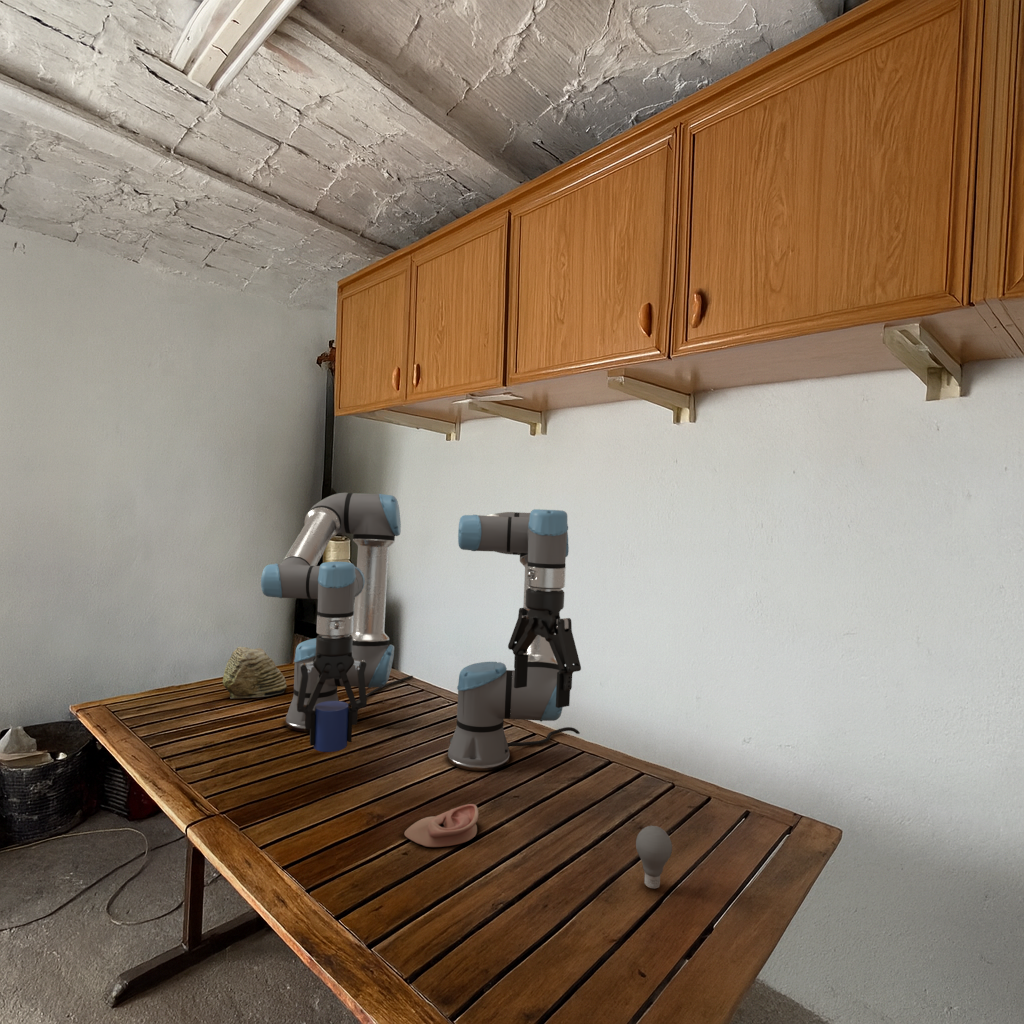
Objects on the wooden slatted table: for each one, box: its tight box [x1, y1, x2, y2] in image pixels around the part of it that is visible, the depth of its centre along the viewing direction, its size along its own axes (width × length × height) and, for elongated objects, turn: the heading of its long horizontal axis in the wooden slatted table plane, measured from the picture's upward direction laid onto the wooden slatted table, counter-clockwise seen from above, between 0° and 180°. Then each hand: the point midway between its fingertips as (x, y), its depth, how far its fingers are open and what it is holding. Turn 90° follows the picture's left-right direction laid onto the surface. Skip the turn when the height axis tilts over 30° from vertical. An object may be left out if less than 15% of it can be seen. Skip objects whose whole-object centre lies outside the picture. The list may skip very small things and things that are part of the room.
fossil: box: [222, 646, 288, 699], centre depth 198 cm, size 9×18×15 cm, turn 132°
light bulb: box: [635, 825, 673, 889], centre depth 107 cm, size 6×6×10 cm
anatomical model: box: [404, 803, 479, 848], centre depth 121 cm, size 13×4×12 cm
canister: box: [313, 700, 350, 753], centre depth 135 cm, size 7×7×9 cm
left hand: (330, 741), depth 136 cm, fingers closed on canister, 7 cm apart
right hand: (540, 696), depth 124 cm, fingers open, 13 cm apart
